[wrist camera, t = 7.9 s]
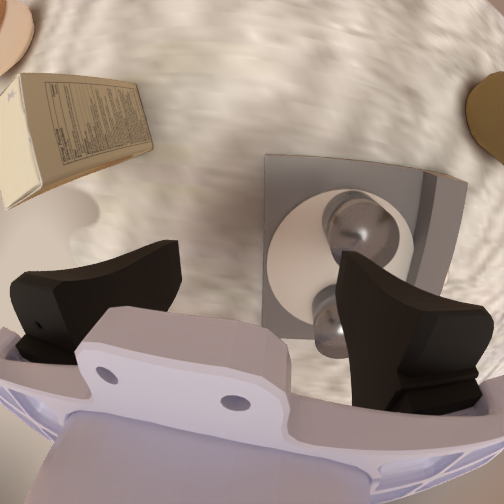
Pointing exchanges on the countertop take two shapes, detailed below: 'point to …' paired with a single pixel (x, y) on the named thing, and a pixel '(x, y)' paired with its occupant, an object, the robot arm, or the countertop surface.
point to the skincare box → (65, 131)
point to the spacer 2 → (360, 227)
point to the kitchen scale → (314, 240)
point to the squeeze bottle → (488, 114)
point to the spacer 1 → (328, 325)
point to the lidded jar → (14, 32)
